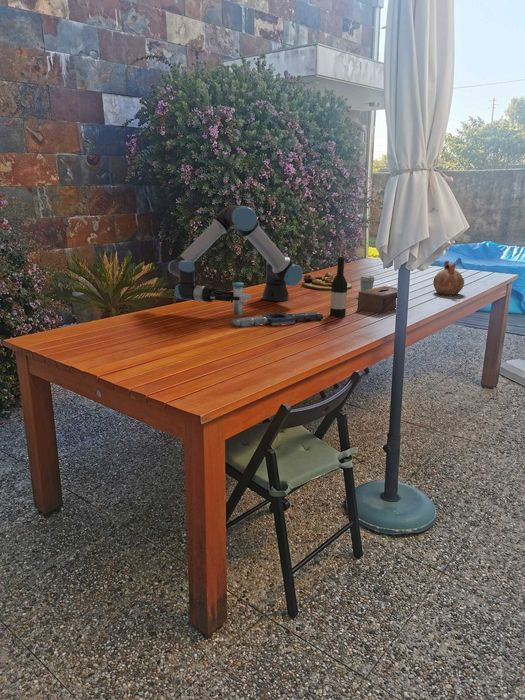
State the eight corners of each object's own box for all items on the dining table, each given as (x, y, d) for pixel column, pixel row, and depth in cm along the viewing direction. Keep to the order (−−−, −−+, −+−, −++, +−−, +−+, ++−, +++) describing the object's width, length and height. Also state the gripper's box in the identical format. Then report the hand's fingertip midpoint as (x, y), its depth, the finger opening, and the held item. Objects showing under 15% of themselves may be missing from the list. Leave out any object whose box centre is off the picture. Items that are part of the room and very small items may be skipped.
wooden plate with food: (296, 288, 355) (297, 276, 352) (308, 280, 384) (308, 268, 381) (347, 294, 346) (348, 280, 344) (354, 284, 375) (355, 272, 373)
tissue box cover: (380, 314, 292) (382, 295, 289) (357, 310, 301) (358, 291, 298) (405, 307, 310) (407, 289, 307) (383, 303, 319) (384, 285, 316)
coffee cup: (373, 298, 331) (374, 278, 327) (358, 297, 332) (359, 277, 329) (373, 295, 339) (374, 275, 335) (359, 294, 340) (360, 274, 337)
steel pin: (230, 313, 275) (230, 282, 271) (241, 312, 277) (241, 282, 273) (234, 316, 271) (234, 284, 266) (245, 315, 273) (245, 284, 268)
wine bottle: (333, 317, 282) (336, 257, 273) (326, 313, 290) (330, 255, 281) (348, 317, 284) (352, 257, 275) (341, 313, 292) (345, 255, 283)
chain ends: (228, 323, 267) (229, 317, 266) (314, 315, 285) (314, 310, 284) (238, 329, 256) (238, 323, 255) (325, 321, 274) (326, 315, 273)
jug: (466, 297, 340) (471, 264, 334) (436, 296, 340) (440, 263, 334) (457, 291, 358) (461, 259, 352) (428, 290, 358) (432, 259, 352)
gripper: (212, 297, 287) (255, 302, 279) (196, 304, 271) (241, 309, 263) (212, 283, 284) (255, 287, 276) (196, 289, 269) (241, 293, 261)
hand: (248, 298), depth 270 cm, fingers closed on steel pin, 4 cm apart
